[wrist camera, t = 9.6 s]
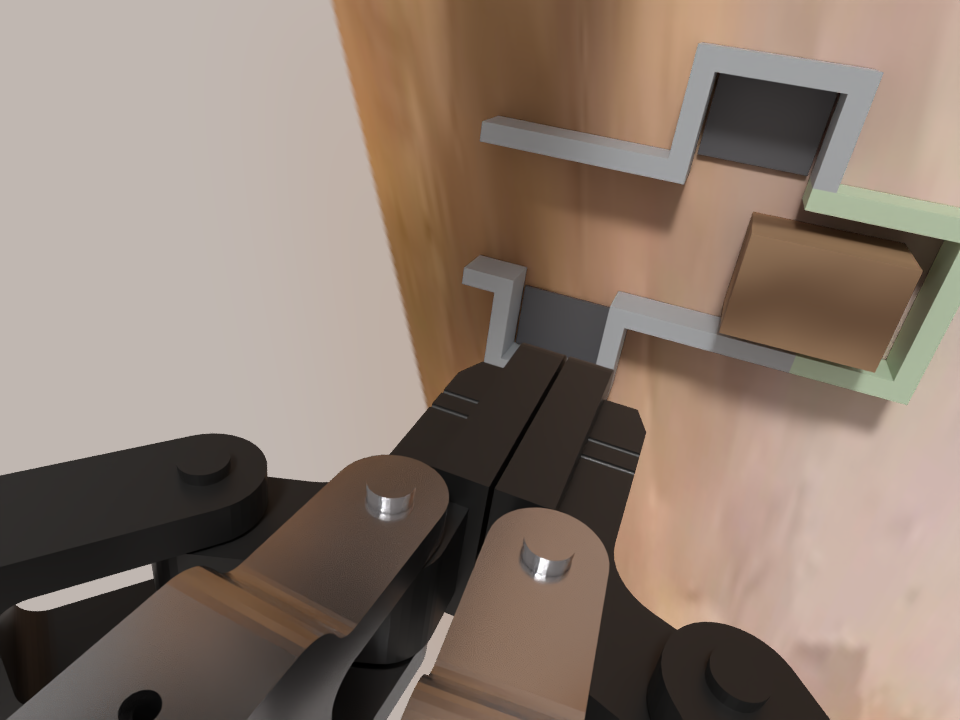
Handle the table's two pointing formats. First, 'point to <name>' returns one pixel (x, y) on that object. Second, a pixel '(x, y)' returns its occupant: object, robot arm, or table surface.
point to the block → (818, 291)
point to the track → (751, 140)
